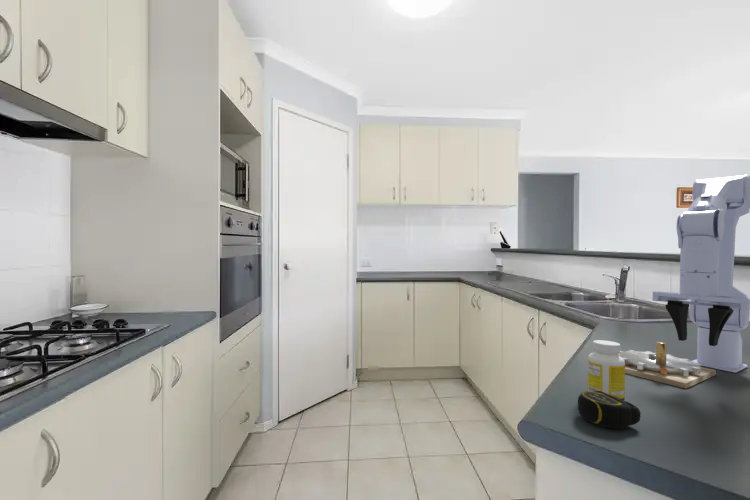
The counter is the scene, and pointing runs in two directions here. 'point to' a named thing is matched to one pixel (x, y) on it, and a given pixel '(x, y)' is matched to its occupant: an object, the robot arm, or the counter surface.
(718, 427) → the counter surface
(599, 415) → the tape measure
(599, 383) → the supplement bottle
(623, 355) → the sprocket
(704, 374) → the sprocket base
